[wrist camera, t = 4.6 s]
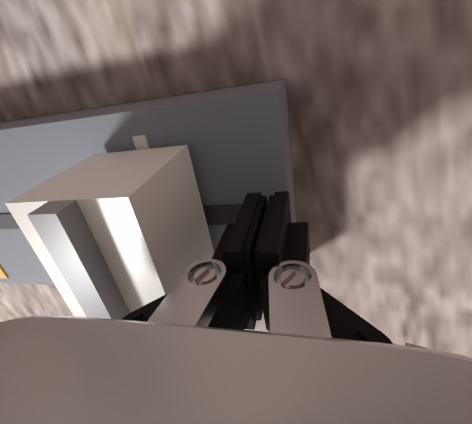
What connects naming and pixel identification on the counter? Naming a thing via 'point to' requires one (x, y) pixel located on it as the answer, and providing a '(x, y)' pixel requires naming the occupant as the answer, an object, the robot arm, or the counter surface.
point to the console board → (147, 137)
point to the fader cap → (117, 228)
